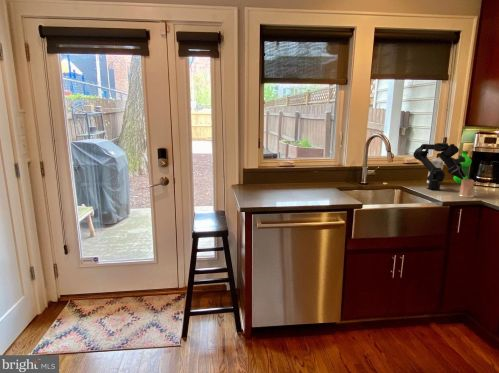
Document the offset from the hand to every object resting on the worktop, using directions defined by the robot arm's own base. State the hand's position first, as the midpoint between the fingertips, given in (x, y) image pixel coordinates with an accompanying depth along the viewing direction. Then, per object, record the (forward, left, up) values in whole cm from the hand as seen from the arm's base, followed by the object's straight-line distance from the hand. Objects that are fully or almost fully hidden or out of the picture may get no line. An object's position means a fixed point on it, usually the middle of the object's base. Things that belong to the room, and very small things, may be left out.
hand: (463, 178), depth 216 cm
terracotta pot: (+2, -2, -11) cm, 11 cm away
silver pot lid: (+2, -2, -12) cm, 12 cm away
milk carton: (+4, +35, -12) cm, 37 cm away
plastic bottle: (+27, +37, -12) cm, 47 cm away
